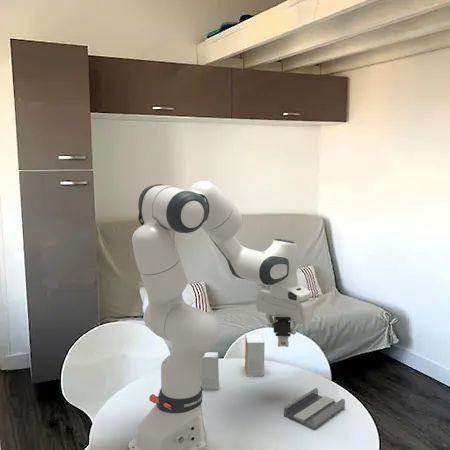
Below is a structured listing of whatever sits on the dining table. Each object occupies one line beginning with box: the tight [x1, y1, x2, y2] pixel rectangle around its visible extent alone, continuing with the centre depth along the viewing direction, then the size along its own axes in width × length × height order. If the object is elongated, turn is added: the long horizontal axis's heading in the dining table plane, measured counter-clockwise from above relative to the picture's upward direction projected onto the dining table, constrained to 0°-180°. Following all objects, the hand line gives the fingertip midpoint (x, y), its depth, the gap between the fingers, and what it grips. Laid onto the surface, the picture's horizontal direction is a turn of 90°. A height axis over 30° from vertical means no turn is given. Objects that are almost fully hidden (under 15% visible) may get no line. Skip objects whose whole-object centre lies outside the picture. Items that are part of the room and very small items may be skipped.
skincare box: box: [201, 351, 220, 391], centre depth 173 cm, size 6×4×12 cm
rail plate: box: [283, 387, 346, 431], centre depth 158 cm, size 17×11×3 cm, turn 136°
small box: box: [244, 333, 265, 377], centre depth 185 cm, size 8×6×13 cm
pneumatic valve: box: [272, 314, 292, 348], centre depth 164 cm, size 6×12×12 cm, turn 173°
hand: (282, 330), depth 164 cm, fingers closed on pneumatic valve, 7 cm apart
